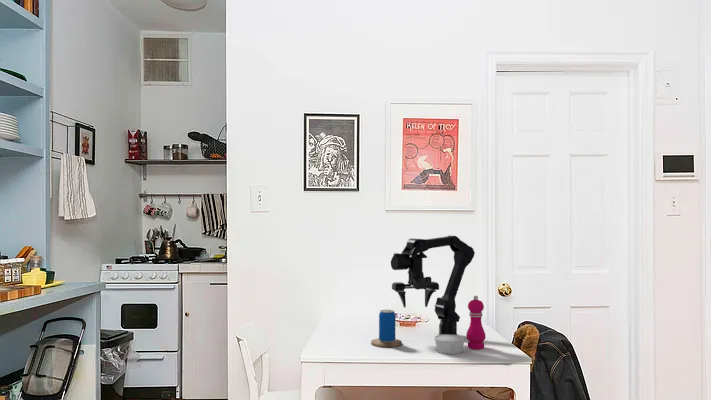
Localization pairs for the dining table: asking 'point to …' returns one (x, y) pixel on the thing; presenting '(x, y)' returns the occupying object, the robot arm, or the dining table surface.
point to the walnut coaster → (386, 345)
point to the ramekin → (449, 343)
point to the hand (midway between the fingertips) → (415, 307)
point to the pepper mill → (475, 325)
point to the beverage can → (387, 326)
